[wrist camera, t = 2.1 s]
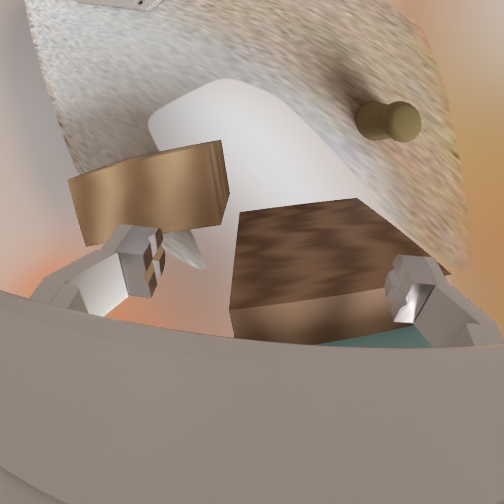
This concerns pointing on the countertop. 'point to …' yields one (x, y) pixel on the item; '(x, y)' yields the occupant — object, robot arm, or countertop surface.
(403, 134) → the cork
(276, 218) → the walnut stand
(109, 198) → the oak block
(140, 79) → the countertop surface
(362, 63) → the countertop surface
